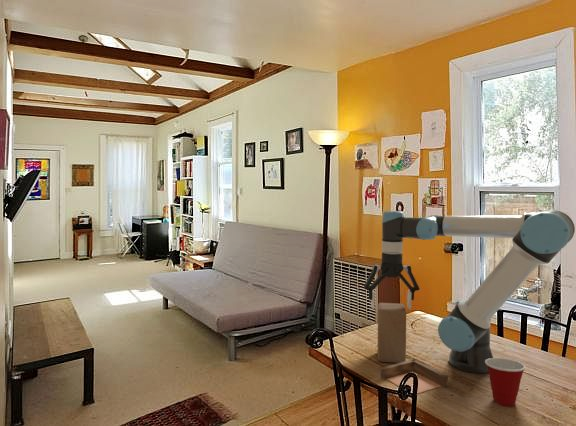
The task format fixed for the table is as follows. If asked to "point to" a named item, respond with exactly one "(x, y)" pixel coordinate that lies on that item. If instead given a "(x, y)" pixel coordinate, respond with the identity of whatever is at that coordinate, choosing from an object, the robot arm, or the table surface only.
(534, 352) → the table surface
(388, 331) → the block
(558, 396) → the table surface
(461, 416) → the table surface
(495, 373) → the plastic cup
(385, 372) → the arena
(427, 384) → the tile
